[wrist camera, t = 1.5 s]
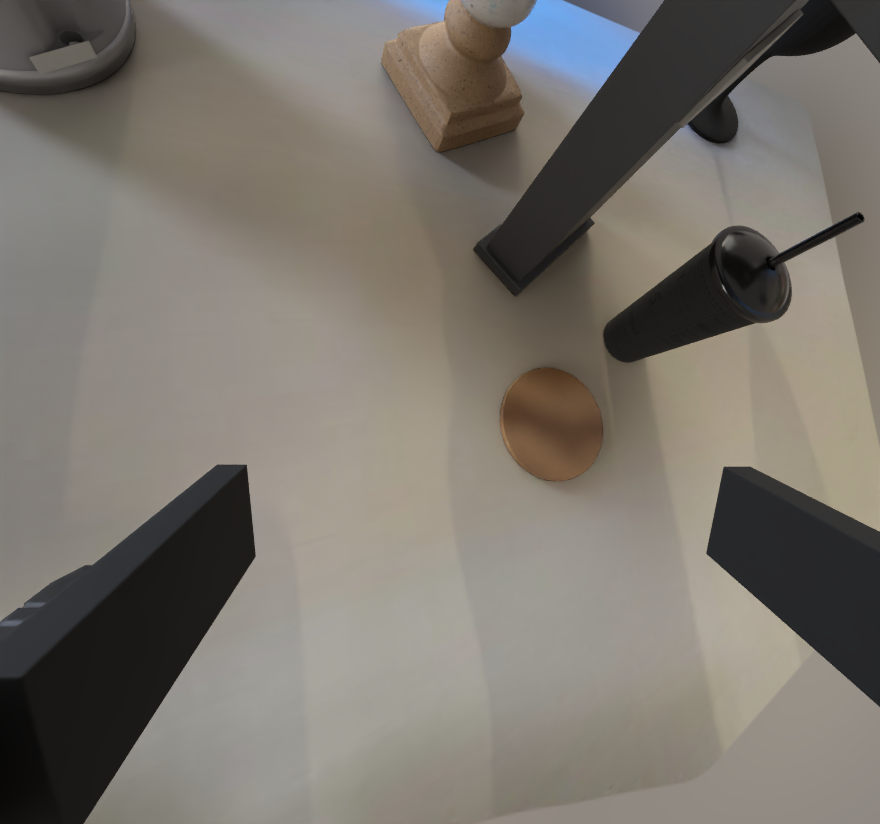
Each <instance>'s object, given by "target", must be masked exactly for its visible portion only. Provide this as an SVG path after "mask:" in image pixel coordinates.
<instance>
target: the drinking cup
mask: <svg viewBox="0 0 880 824" xmlns="http://www.w3.org/2000/svg"><path fill="white" fill-rule="evenodd" d="M862 222H864V216H863V215H862V214H861V213H860V212H858V213H855V214H853V215H852V216H850V217H848V218H846V219H844V220H842V221H841V222H838V223H837V224H835V225H833V226H831V227H829V228H827V229H825V230H823V231H821V232H819V233H818V234H816V235H814V236H812V237H810V238H808V239H806V240H804V241H802V242H801V243H799V244H797V245H795V246H793V247H791V248H789V249H787V250H785V251H783V252H782V253H780V254H779V252H778V251H777V249H776V248H775V247H774V246H773V245H772V243H771V242H770V241H769V240H768V239H767V238H765V237H764V236H763V235H762V234H760V233H759V232H757V231H755V230H753V229H751V228H749V227H745V226H731V227H728V228H726V229H724V230H723V231H721V232H720V233H719V234H718V235H717V236H716V237H715V238H714V240H713V241H712V243H711V244H710V245H708V246H707V247H706V248H705V249H703V250H702V251H701V252H699V253H698V254H697V255H695V256H694V257H693V258H691V259H690V260H689V261H688V262H686V263H685V264H684V265H682V266H681V267H680V268H678V269H677V270H676V271H675V272H673V273H672V274H671V275H669V276H668V277H667V278H665V279H664V280H663V281H661V282H660V283H659V284H658V285H656V286H655V287H654V288H652V289H651V290H650V291H648V292H647V293H646V294H644V295H643V296H642V297H641V298H639V299H638V300H637V301H635V302H634V303H633V304H631V305H630V306H629V307H627V308H626V309H625V310H624V311H622V312H621V313H620V314H618V315H617V316H616V317H614V318H613V319H612V320H611V321H609V322H608V323H607V325H606V327H605V329H604V342H605V345H606V347H607V349H608V351H609V352H610V353H611V355H612V356H613V357H615V358H616V359H617V360H619V361H622V362H633V361H636V360H640V359H643V358H646V357H649V356H652V355H655V354H659V353H662V352H665V351H668V350H671V349H674V348H678V347H681V346H684V345H687V344H690V343H694V342H697V341H700V340H703V339H706V338H709V337H713V336H716V335H719V334H722V333H725V332H728V331H732V330H735V329H738V328H741V327H744V326H748V325H751V324H754V323H768V322H771V321H774V320H776V319H778V318H780V317H781V316H782V315H783V314H785V312H786V311H787V309H788V307H789V305H790V302H791V296H792V287H791V280H790V276H789V273H788V270H787V267H786V265H785V263H784V262H785V261H787V260H789V259H791V258H793V257H795V256H797V255H799V254H801V253H803V252H805V251H807V250H809V249H811V248H813V247H815V246H817V245H819V244H821V243H823V242H825V241H827V240H829V239H831V238H833V237H835V236H837V235H839V234H841V233H843V232H845V231H847V230H849V229H851V228H853V227H855V226H857V225H858V224H861V223H862Z"/></svg>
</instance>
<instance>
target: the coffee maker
mask: <svg viewBox="0 0 880 824" xmlns="http://www.w3.org/2000/svg"><path fill="white" fill-rule="evenodd" d="M808 1H809V0H664V2H663V3H662V4H661V6H660V7H659V9H658V10H657V11H656V13H655V14H654V16H653V17H652V18H651V20H650V21H649V23H648V24H647V25H646V27H645V28H644V29H643V31H642V32H641V33H640V35H639V36H638V38H637V39H636V40H635V42H634V43H633V44H632V46H631V47H630V49H629V50H628V51H627V53H626V54H625V56H624V57H623V58H622V60H621V61H620V62H619V64H618V65H617V67H616V68H615V69H614V71H613V72H612V73H611V75H610V76H609V78H608V79H607V80H606V82H605V83H604V85H603V86H602V87H601V89H600V90H599V91H598V93H597V94H596V96H595V97H594V98H593V100H592V101H591V102H590V104H589V105H588V107H587V108H586V109H585V111H584V112H583V114H582V115H581V116H580V118H579V119H578V120H577V122H576V123H575V125H574V126H573V127H572V129H571V130H570V131H569V133H568V134H567V136H566V137H565V138H564V140H563V141H562V143H561V144H560V145H559V147H558V148H557V149H556V151H555V152H554V154H553V155H552V156H551V158H550V159H549V160H548V162H547V163H546V165H545V166H544V167H543V169H542V170H541V172H540V173H539V174H538V176H537V177H536V178H535V180H534V181H533V183H532V184H531V185H530V187H529V188H528V189H527V191H526V192H525V194H524V195H523V196H522V198H521V199H520V201H519V202H518V203H517V205H516V206H515V207H514V209H513V210H512V212H511V213H510V214H509V216H508V217H507V218H506V220H505V221H504V222H503V223H502V224H500V225H499V226H498V227H497V228H495V229H494V230H493V231H492V232H490V233H489V234H488V235H487V236H485V237H484V238H483V239H482V240H480V241H479V242H478V243H477V245H476V246H475V248H474V249H473V250H474V251H475V252H476V253H477V254H478V256H479V257H480V258H481V259H482V260H483V261H484V262H485V263H486V265H487V266H488V267H489V268H490V269H491V270H492V271H493V272H494V273H495V275H496V276H497V277H498V278H499V279H500V280H501V281H502V282H503V283H504V285H505V286H506V287H507V288H508V289H509V290H510V291H511V292H512V293H513V295H514V296H517V295H518V294H519V293H520V292H521V291H522V290H523V289H524V288H525V287H526V286H528V285H529V284H530V283H531V282H532V281H533V280H534V279H535V278H536V277H537V276H538V275H539V274H541V273H542V272H543V271H544V270H545V269H546V268H547V267H548V266H549V265H550V264H551V263H552V262H554V261H555V260H556V259H557V258H558V257H559V256H560V255H561V254H562V253H563V252H564V251H565V250H567V249H568V248H569V247H570V246H571V245H572V244H573V243H574V242H575V241H576V240H577V239H578V238H580V237H581V236H582V235H583V234H584V233H585V232H586V231H587V230H588V229H589V228H590V227H591V226H592V225H593V224H594V222H593V221H592V219H591V218H590V217H591V216H592V215H593V214H594V213H595V212H596V211H597V210H598V209H599V208H600V207H601V206H602V205H603V204H604V203H605V202H606V201H607V200H608V199H609V198H610V197H611V196H612V195H613V194H614V193H615V192H616V191H617V190H618V189H619V188H620V187H621V186H622V185H623V184H624V183H625V182H626V181H627V180H628V179H629V178H630V177H631V176H632V175H633V174H634V173H635V172H636V171H637V170H638V169H639V168H640V167H642V166H643V165H644V164H645V163H646V162H647V161H648V160H649V159H650V158H651V157H652V156H653V155H654V154H655V153H656V152H657V151H658V150H659V149H660V148H661V147H662V146H663V145H664V144H665V143H666V142H667V141H668V140H669V139H670V138H671V137H672V136H673V135H674V134H675V133H676V132H677V131H678V130H679V129H680V128H683V127H684V126H685V125H686V124H687V123H689V122H690V121H691V120H692V119H693V118H694V117H695V116H696V115H697V114H699V113H700V112H701V111H702V110H703V109H704V108H705V107H706V106H707V105H709V104H710V103H711V102H712V101H713V100H714V99H715V98H716V97H718V96H719V95H720V94H721V93H722V92H723V91H724V90H725V89H726V88H728V87H729V86H730V85H731V84H732V83H733V82H734V81H735V80H737V79H738V78H739V77H740V76H741V75H742V74H743V73H744V72H745V71H746V70H747V69H748V68H749V67H750V66H751V65H752V64H753V63H754V62H755V61H756V60H757V59H758V58H759V57H760V56H761V55H762V54H763V53H764V52H765V51H766V50H767V49H768V48H769V47H770V46H771V45H773V44H774V43H775V42H776V41H777V40H778V39H779V38H780V37H781V36H782V35H783V34H784V33H785V32H786V31H787V30H788V29H789V28H790V27H791V26H792V25H793V24H794V23H795V22H796V21H797V20H798V19H799V18H800V17H801V16H802V15H803V12H802V11H801V10H800V9H801V8H802V7H803V6H804V5H805V4H806V3H807V2H808ZM830 1H831V2H832V3H833V4H834V6H835V7H836V8H837V10H838V11H839V12H840V13H841V15H842V16H843V17H844V18H845V20H846V21H847V22H848V23H849V25H850V26H851V27H852V29H853V30H854V31H855V32H856V34H857V35H858V36H859V37H860V39H861V40H862V41H863V43H864V44H865V45H866V46H867V48H868V49H869V50H870V51H871V53H872V54H873V55H874V57H875V58H876V59H877V60H878V62H879V63H880V0H830Z"/></svg>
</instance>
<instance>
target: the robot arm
mask: <svg viewBox="0 0 880 824" xmlns="http://www.w3.org/2000/svg"><path fill="white" fill-rule="evenodd" d="M134 40H135V20H134V15H133V12H132V8H131V5H130V2H129V0H0V90H2V91H7V92H15V93H25V94H52V93H61V92H68V91H73V90H77V89H81V88H84V87H87V86H90V85H92V84H95V83H97V82H99V81H101V80H103V79H105V78H106V77H108V76H109V75H111V74H112V73H113V72H115V71H116V70H117V69H118V68H119V67H120V66H121V65H122V64H123V63H124V61H125V60H126V59H127V57H128V55H129V54H130V52H131V49H132V47H133V43H134ZM706 554H707V555H709V556H710V557H711V558H712V559H713V560H714V561H715V562H716V563H718V564H719V565H720V566H721V567H722V568H723V569H724V570H725V571H727V572H728V573H729V574H730V575H731V576H732V577H733V578H735V579H736V580H737V581H738V582H739V583H740V584H741V585H742V586H744V587H745V588H746V589H747V590H748V591H749V592H750V593H752V594H753V595H754V596H755V597H756V598H757V599H758V600H759V601H761V602H762V603H763V604H764V605H765V606H766V607H767V608H769V609H770V610H771V611H772V612H773V613H774V614H775V615H776V616H778V617H779V618H780V619H781V620H782V621H783V622H784V623H785V624H787V625H788V626H789V627H790V628H791V629H792V630H793V631H795V632H796V633H797V634H798V635H799V636H800V637H801V638H802V639H804V640H805V641H806V642H807V643H808V644H809V645H810V646H812V647H813V648H814V649H815V650H816V651H817V652H818V653H820V654H821V655H822V656H823V657H824V658H825V659H826V660H827V661H829V662H830V663H831V664H832V665H833V666H834V667H835V668H836V669H838V670H839V671H840V672H841V673H842V674H843V675H844V676H846V677H847V678H848V679H849V680H850V681H851V682H852V683H854V684H855V685H856V686H857V687H858V688H859V689H860V690H861V691H862V692H864V693H865V694H866V695H867V696H868V697H869V698H870V699H872V700H873V701H874V702H875V703H876V704H877V705H878V706H879V707H880V532H879V531H877V530H875V529H873V528H871V527H869V526H867V525H865V524H863V523H861V522H859V521H857V520H855V519H853V518H851V517H849V516H847V515H845V514H843V513H841V512H839V511H837V510H835V509H833V508H831V507H829V506H827V505H825V504H823V503H821V502H819V501H817V500H815V499H813V498H811V497H809V496H807V495H805V494H803V493H801V492H799V491H797V490H795V489H793V488H791V487H789V486H787V485H785V484H783V483H781V482H779V481H777V480H775V479H773V478H771V477H769V476H767V475H765V474H763V473H761V472H759V471H757V470H755V469H753V468H751V467H724V468H723V473H722V478H721V483H720V488H719V493H718V498H717V503H716V508H715V513H714V518H713V523H712V528H711V533H710V538H709V543H708V548H707V553H706ZM255 557H256V555H255V545H254V535H253V525H252V514H251V504H250V494H249V483H248V473H247V465H216V466H215V467H214V468H212V469H211V470H210V471H209V472H207V473H206V474H205V475H204V476H203V477H201V478H200V479H199V480H198V481H196V482H195V483H194V484H193V485H191V486H190V487H189V488H188V489H186V490H185V491H184V492H183V493H181V494H180V495H179V496H178V497H176V498H175V499H174V500H173V501H172V502H170V503H169V504H168V505H167V506H165V507H164V508H163V509H162V510H160V511H159V512H158V513H157V514H155V515H154V516H153V517H152V518H150V519H149V520H148V521H147V522H146V523H144V524H143V525H142V526H141V527H139V528H138V529H137V530H136V531H134V532H133V533H132V534H131V535H129V536H128V537H127V538H126V539H124V540H123V541H122V542H121V543H119V544H118V545H117V546H116V547H115V548H113V549H112V550H111V551H110V552H108V553H107V554H106V555H105V556H103V557H102V558H101V559H100V560H98V561H97V562H96V563H95V564H93V565H85V566H83V567H81V568H79V569H77V570H75V571H73V572H71V573H69V574H67V575H65V576H63V577H62V578H60V579H58V580H56V581H54V582H52V583H50V584H49V585H48V586H46V587H45V588H44V589H42V590H41V591H40V592H39V593H37V594H36V595H35V596H33V597H32V598H31V599H29V600H28V601H27V602H25V603H24V606H23V608H18V609H16V610H15V611H14V612H12V613H11V614H10V615H8V616H7V617H6V618H5V619H3V620H2V621H1V622H0V824H84V822H85V821H86V819H87V817H88V816H89V814H90V813H91V811H92V810H93V808H94V807H95V805H96V803H97V802H98V800H99V799H100V797H101V796H102V794H103V793H104V791H105V789H106V788H107V786H108V785H109V783H110V782H111V780H112V779H113V777H114V776H115V774H116V772H117V771H118V769H119V768H120V766H121V765H122V763H123V762H124V760H125V758H126V757H127V755H128V754H129V752H130V751H131V749H132V748H133V746H134V744H135V743H136V741H137V740H138V738H139V737H140V735H141V734H142V732H143V730H144V729H145V727H146V726H147V724H148V723H149V721H150V720H151V718H152V717H153V715H154V713H155V712H156V710H157V709H158V707H159V706H160V704H161V703H162V701H163V699H164V698H165V696H166V695H167V693H168V692H169V690H170V689H171V687H172V685H173V684H174V682H175V681H176V679H177V678H178V676H179V675H180V673H181V671H182V670H183V668H184V667H185V665H186V664H187V662H188V661H189V659H190V657H191V656H192V654H193V653H194V651H195V650H196V648H197V647H198V645H199V644H200V642H201V640H202V639H203V637H204V636H205V634H206V633H207V631H208V630H209V628H210V626H211V625H212V623H213V622H214V620H215V619H216V617H217V616H218V614H219V612H220V611H221V609H222V608H223V606H224V605H225V603H226V602H227V600H228V598H229V597H230V595H231V594H232V592H233V591H234V589H235V588H236V586H237V585H238V583H239V581H240V580H241V578H242V577H243V575H244V574H245V572H246V571H247V569H248V567H249V566H250V564H251V563H252V561H253V560H254V558H255Z"/></svg>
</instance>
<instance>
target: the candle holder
mask: <svg viewBox="0 0 880 824" xmlns="http://www.w3.org/2000/svg"><path fill="white" fill-rule="evenodd" d="M536 1H537V0H449V2H448V4H447V6H446V9H445V15H444V21H442V22H437V23H432V24H427V25H422V26H416V27H412V28H409V29H405V30H403V31H402V32H400V33H398V37H397V39H394V40H390V41H387V42H385V45H384V50H383V55H382V59H381V60H382V64H383V66H384V68H385V70H386V71H387V73H388V75H389V77H390V78H391V80H392V82H393V83H394V85H395V87H396V88H397V90H398V91H399V93H400V95H401V96H402V98H403V100H404V101H405V103H406V105H407V106H408V108H409V109H410V111H411V113H412V114H413V116H414V118H415V119H416V121H417V123H418V124H419V126H420V128H421V129H422V131H423V132H424V134H425V136H426V137H427V139H428V140H429V142H430V143H431V145H432V146H433V148H434V149H435V150H436V151H438V152H442V151H446V150H451V149H454V148H457V147H461V146H464V145H467V144H470V143H474V142H477V141H480V140H483V139H487V138H490V137H493V136H496V135H500V134H503V133H506V132H509V131H511V130H514V129H515V128H516V127H517V126H518V124H519V122H520V121H521V119H522V117H523V115H524V111H523V109H522V107H521V105H520V100H521V99H522V95H521V91H520V89H519V87H518V85H517V83H516V81H515V79H514V78H513V76H512V74H511V73H510V71H509V69H508V67H507V66H506V64H505V62H504V60H503V59H502V56H501V55H502V54H503V53H504V52H505V51H506V49H507V47H508V45H509V42H510V37H511V27H512V26H515V25H517V24H519V23H521V22H522V21H524V20H525V19H526V18H527V17H528V16H529V14H530V13H531V11H532V10H533V8H534V6H535V4H536Z"/></svg>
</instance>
